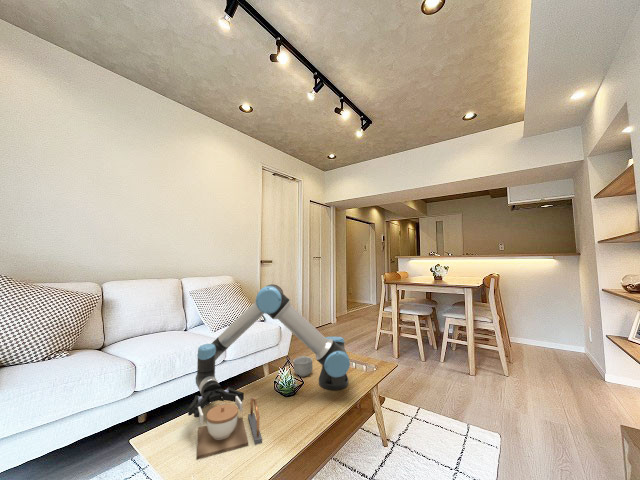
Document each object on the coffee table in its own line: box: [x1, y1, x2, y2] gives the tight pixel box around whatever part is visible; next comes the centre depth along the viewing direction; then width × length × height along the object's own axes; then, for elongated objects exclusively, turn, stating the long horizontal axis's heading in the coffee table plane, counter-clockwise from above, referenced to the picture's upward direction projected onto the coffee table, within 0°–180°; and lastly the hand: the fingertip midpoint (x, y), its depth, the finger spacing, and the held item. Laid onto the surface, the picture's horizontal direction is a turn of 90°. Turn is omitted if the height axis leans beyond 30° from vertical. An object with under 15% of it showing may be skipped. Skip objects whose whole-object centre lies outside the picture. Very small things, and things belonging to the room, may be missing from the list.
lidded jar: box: [206, 403, 239, 440], centre depth 96 cm, size 11×11×9 cm
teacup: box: [292, 355, 313, 377], centre depth 150 cm, size 14×11×8 cm
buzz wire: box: [249, 396, 260, 437], centre depth 100 cm, size 1×15×10 cm, turn 23°
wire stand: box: [247, 412, 263, 446], centre depth 100 cm, size 2×17×1 cm, turn 23°
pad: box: [196, 416, 249, 460], centre depth 95 cm, size 16×16×1 cm
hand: (222, 413), depth 95 cm, fingers open, 13 cm apart
